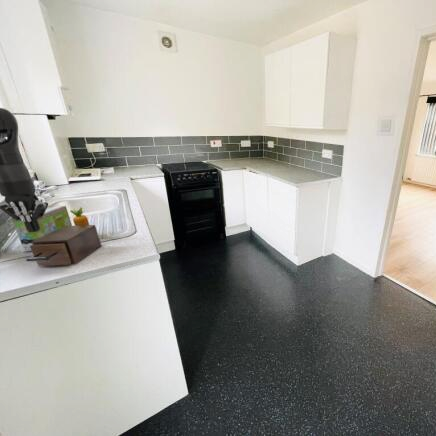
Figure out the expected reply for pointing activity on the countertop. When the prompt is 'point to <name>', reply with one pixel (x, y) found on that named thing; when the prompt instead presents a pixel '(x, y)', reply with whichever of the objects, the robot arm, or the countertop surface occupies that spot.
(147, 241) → the countertop surface
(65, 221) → the tea box
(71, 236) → the cabinet
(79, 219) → the carrot
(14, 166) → the robot arm
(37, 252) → the drawer
